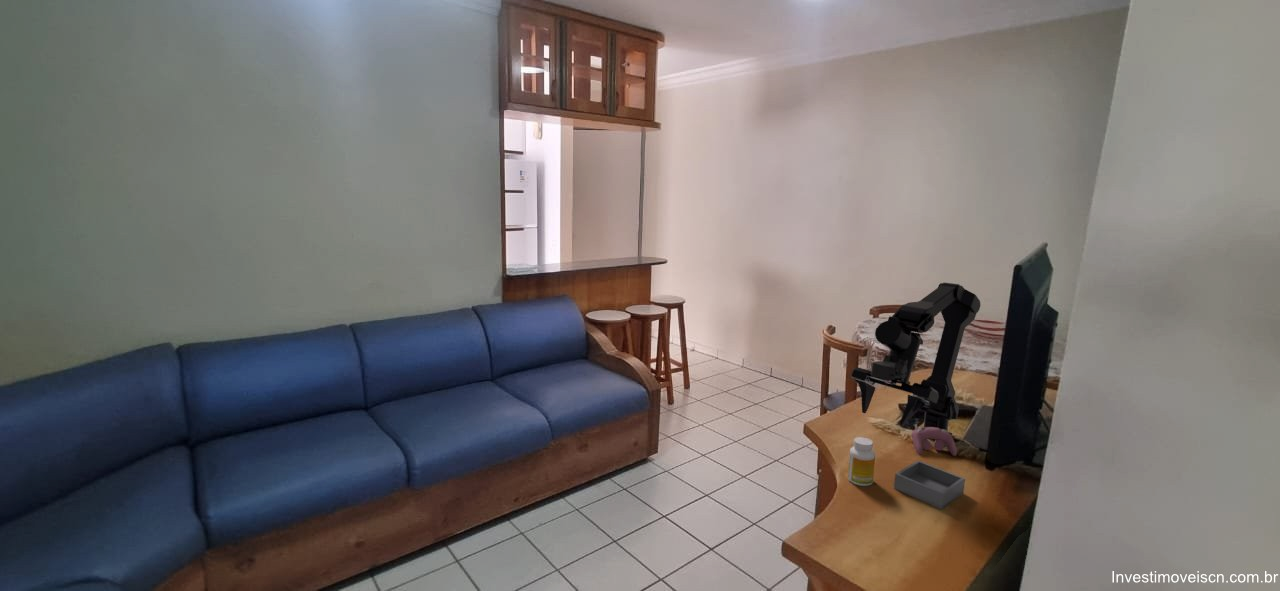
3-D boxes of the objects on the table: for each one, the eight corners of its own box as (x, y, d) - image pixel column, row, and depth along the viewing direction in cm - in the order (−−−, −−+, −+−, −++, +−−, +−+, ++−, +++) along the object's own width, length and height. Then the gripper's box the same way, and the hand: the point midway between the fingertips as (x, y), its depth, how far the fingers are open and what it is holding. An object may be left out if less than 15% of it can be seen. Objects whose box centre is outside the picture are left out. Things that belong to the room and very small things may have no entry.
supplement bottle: (878, 485, 122) (881, 445, 120) (856, 488, 120) (859, 447, 119) (863, 473, 127) (866, 434, 125) (842, 475, 126) (845, 436, 124)
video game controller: (951, 456, 138) (947, 428, 140) (959, 456, 134) (956, 427, 136) (910, 454, 139) (908, 426, 141) (917, 454, 135) (915, 425, 137)
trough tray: (916, 474, 126) (918, 460, 126) (963, 493, 118) (965, 478, 118) (893, 488, 120) (895, 473, 120) (941, 509, 112) (943, 494, 112)
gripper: (850, 338, 130) (830, 400, 129) (930, 356, 116) (908, 426, 114) (870, 351, 137) (851, 409, 136) (948, 369, 123) (927, 435, 121)
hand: (882, 419), depth 127 cm, fingers open, 9 cm apart
